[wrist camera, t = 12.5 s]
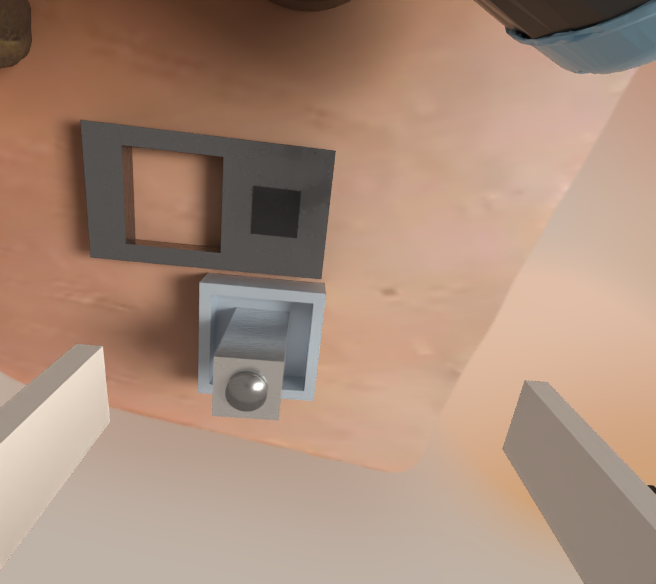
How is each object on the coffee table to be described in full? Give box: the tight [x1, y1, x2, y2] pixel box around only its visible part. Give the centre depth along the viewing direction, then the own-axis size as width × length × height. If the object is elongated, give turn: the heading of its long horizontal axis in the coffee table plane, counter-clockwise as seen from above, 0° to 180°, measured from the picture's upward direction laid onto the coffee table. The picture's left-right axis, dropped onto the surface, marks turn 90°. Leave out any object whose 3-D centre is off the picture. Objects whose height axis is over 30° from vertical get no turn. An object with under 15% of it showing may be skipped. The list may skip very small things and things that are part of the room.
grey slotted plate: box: [80, 120, 336, 279], centre depth 34 cm, size 11×20×2 cm, turn 84°
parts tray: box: [198, 273, 326, 401], centre depth 38 cm, size 11×11×3 cm
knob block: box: [212, 307, 289, 420], centre depth 34 cm, size 5×5×11 cm
